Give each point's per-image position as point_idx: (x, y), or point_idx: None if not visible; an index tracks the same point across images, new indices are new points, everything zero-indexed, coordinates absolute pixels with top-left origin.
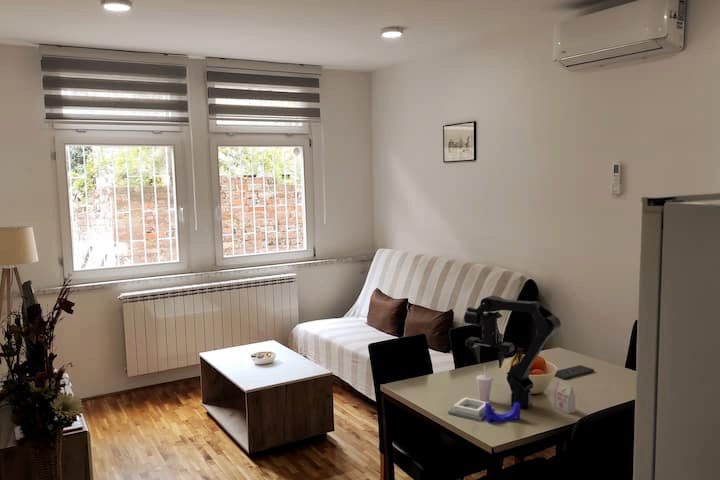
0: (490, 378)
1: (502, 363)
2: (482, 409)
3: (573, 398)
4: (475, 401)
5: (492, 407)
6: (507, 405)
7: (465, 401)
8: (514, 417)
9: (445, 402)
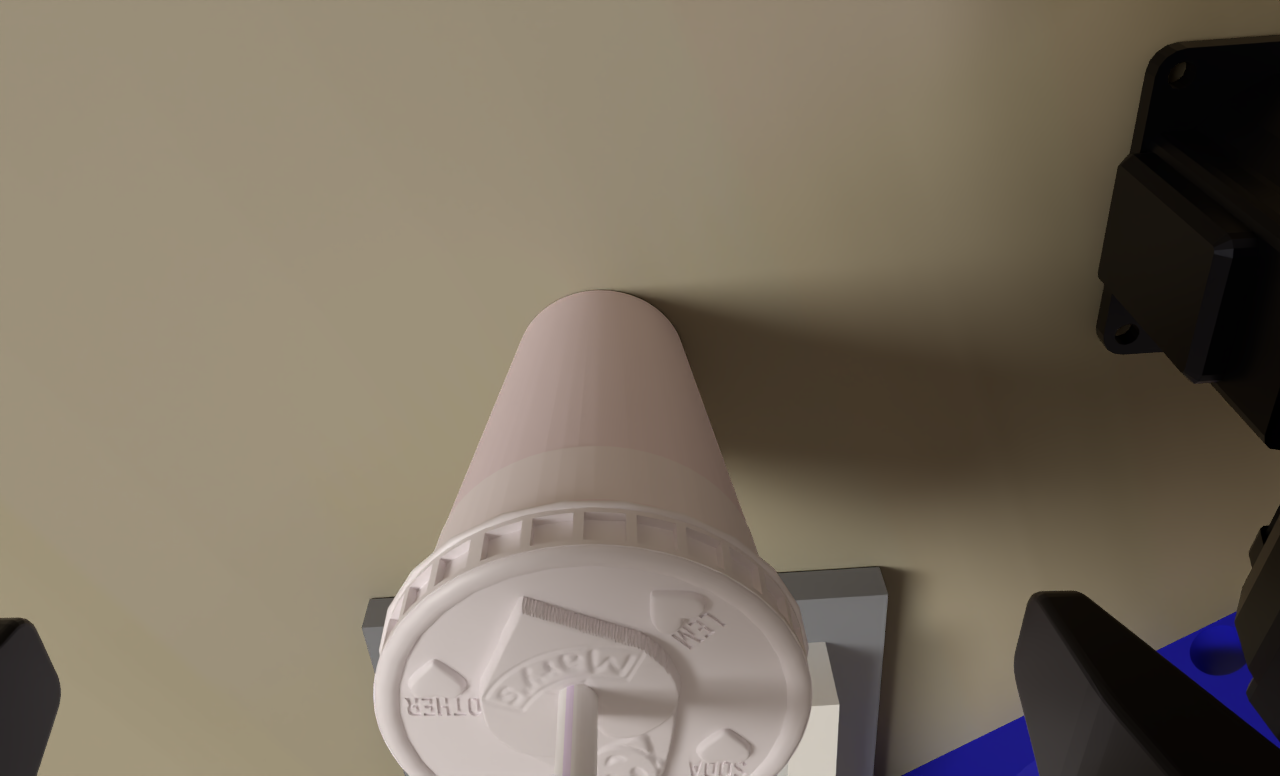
0: (763, 701)
1: (1222, 720)
2: None
3: None
4: None
5: (872, 616)
6: (1028, 323)
7: None
8: None
9: (185, 697)
